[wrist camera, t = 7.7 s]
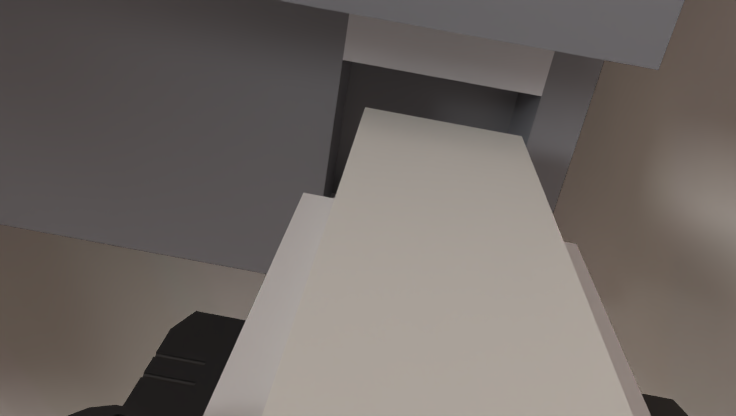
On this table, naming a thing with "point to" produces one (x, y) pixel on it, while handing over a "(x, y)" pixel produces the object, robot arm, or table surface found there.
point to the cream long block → (442, 288)
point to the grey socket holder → (275, 103)
